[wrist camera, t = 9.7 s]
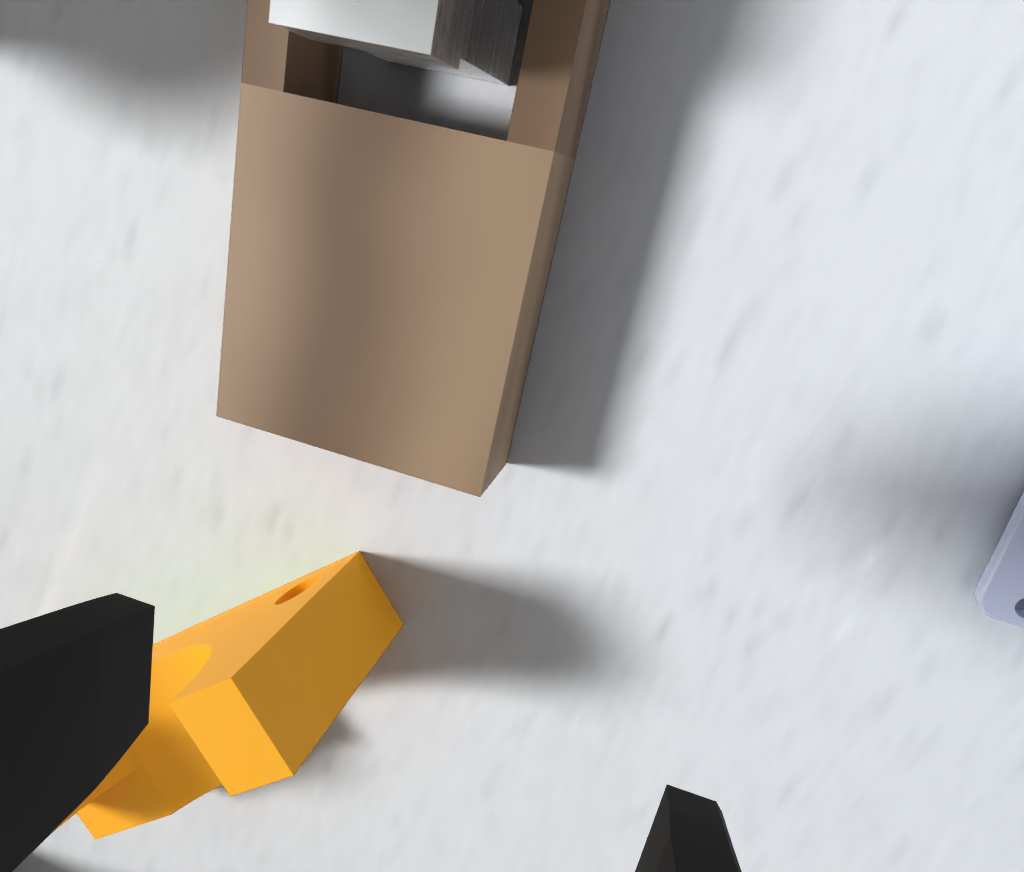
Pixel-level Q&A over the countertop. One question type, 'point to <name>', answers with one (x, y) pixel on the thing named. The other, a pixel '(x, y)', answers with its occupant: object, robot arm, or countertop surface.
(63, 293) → the countertop surface
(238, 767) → the orange saddle block
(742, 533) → the countertop surface
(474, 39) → the brushed aluminum block
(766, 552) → the countertop surface
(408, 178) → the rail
